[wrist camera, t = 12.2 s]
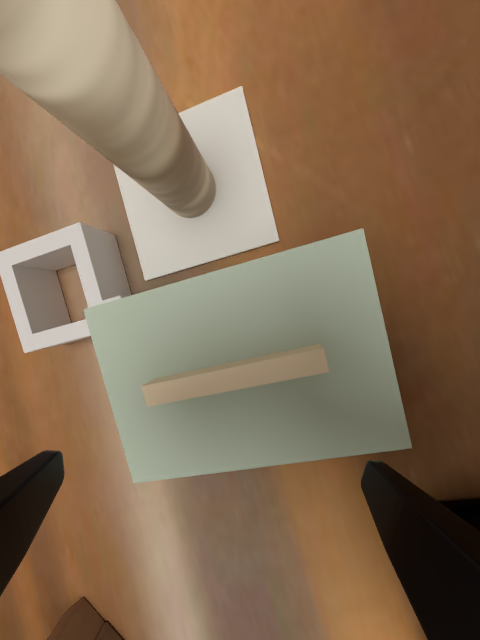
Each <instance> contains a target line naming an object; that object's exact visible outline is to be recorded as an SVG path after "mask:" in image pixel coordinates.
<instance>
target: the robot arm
mask: <svg viewBox="0 0 480 640" xmlns="http://www.w3.org/2000/svg"><path fill="white" fill-rule="evenodd" d="M63 479H64V464H63V455H62V453H61V451H51V450H46V451H43V452H41V453H39V454H37V455H36V456H34V457H32V458H31V459H29V460H27V461H26V462H24V463H22V464H21V465H19V466H17V467H16V468H14V469H12V470H11V471H9V472H7V473H6V474H4V475H2V476H1V477H0V596H1V594H2V593H3V591H4V589H5V588H6V586H7V585H8V583H9V581H10V580H11V578H12V576H13V575H14V573H15V571H16V570H17V568H18V566H19V565H20V563H21V561H22V560H23V558H24V556H25V555H26V553H27V551H28V549H29V547H30V545H31V543H32V542H33V540H34V538H35V536H36V534H37V532H38V530H39V528H40V526H41V524H42V522H43V520H44V518H45V516H46V514H47V512H48V510H49V508H50V506H51V504H52V502H53V500H54V498H55V496H56V494H57V492H58V490H59V489H60V487H61V485H62V482H63ZM361 487H362V490H363V493H364V496H365V498H366V501H367V504H368V506H369V509H370V511H371V514H372V517H373V519H374V522H375V524H376V527H377V530H378V532H379V535H380V537H381V540H382V542H383V545H384V547H385V550H386V552H387V554H388V556H389V559H390V561H391V563H392V565H393V567H394V569H395V571H396V574H397V576H398V578H399V580H400V582H401V584H402V586H403V588H404V590H405V593H406V595H407V597H408V599H409V601H410V603H411V605H412V607H413V610H414V612H415V614H416V616H417V618H418V620H419V622H420V624H421V627H422V629H423V631H424V633H425V635H426V637H427V639H428V640H480V500H469V501H457V502H446V503H439V502H438V501H436V500H435V499H434V498H432V497H431V496H429V495H428V494H427V493H425V492H424V491H423V490H421V489H420V488H418V487H417V486H416V485H414V484H413V483H412V482H410V481H409V480H407V479H406V478H405V477H403V476H402V475H401V474H399V473H398V472H396V471H395V470H394V469H392V468H391V467H389V466H388V465H387V464H385V463H384V462H382V461H368V462H367V463H366V466H365V469H364V473H363V476H362V479H361Z"/></svg>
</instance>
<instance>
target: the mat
mask: <svg viewBox="0 0 480 640" xmlns="http://www.w3.org/2000/svg"><path fill="white" fill-rule="evenodd" d="M178 114H179V116H180V117H181V119H182V121H183V123H184V125H185V126H186V128H187V130H188V132H189V134H190V135H191V137H192V139H193V141H194V143H195V144H196V146H197V148H198V150H199V152H200V153H201V155H202V157H203V159H204V161H205V162H206V164H207V166H208V168H209V170H210V171H211V173H212V175H213V177H214V180H215V183H216V194H215V198H214V201H213V203H212V205H211V207H210V208H209V209H208V210H207V211H206V212H205V213H204V214H202V215H200V216H198V217H195V218H184V217H181V216H179V215H177V214H176V213H175V212H173V211H172V210H171V209H169V208H168V207H167V206H166V205H164V204H163V203H162V202H161V201H159V200H158V199H157V198H156V197H154V196H153V195H152V194H151V193H149V192H148V191H147V190H146V189H144V188H143V187H142V186H140V185H139V184H138V183H137V182H135V181H134V180H133V179H132V178H130V177H129V176H128V175H127V174H125V173H124V172H123V171H122V170H120V169H119V168H118V167H116V166H115V165H114V164H113V165H114V169H115V172H116V176H117V179H118V183H119V187H120V190H121V194H122V198H123V201H124V205H125V209H126V212H127V216H128V220H129V223H130V227H131V231H132V234H133V238H134V242H135V245H136V249H137V253H138V256H139V260H140V263H141V267H142V271H143V274H144V278H145V281H149V280H152V279H155V278H159V277H162V276H165V275H169V274H172V273H175V272H179V271H182V270H185V269H189V268H192V267H195V266H199V265H202V264H205V263H209V262H212V261H215V260H219V259H222V258H225V257H229V256H232V255H236V254H239V253H242V252H246V251H249V250H252V249H256V248H259V247H262V246H266V245H269V244H272V243H276V242H279V237H278V233H277V229H276V225H275V221H274V216H273V212H272V208H271V204H270V200H269V196H268V192H267V188H266V183H265V179H264V175H263V171H262V167H261V163H260V159H259V155H258V150H257V146H256V142H255V138H254V134H253V130H252V126H251V122H250V117H249V113H248V109H247V105H246V101H245V97H244V93H243V89H242V86H240V87H238V88H236V89H233V90H231V91H229V92H226V93H224V94H222V95H220V96H217V97H215V98H213V99H210V100H208V101H206V102H203V103H201V104H199V105H196V106H194V107H192V108H189V109H187V110H185V111H182V112H180V113H178Z"/></svg>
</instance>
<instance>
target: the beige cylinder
mask: <svg viewBox="0 0 480 640" xmlns="http://www.w3.org/2000/svg"><path fill="white" fill-rule="evenodd" d="M0 75H2V76H3V77H4V78H5V79H7V80H8V81H9V82H11V83H12V84H13V85H14V86H16V87H17V88H18V89H19V90H21V91H22V92H23V93H24V94H26V95H27V96H28V97H29V98H31V99H32V100H33V101H34V102H36V103H37V104H38V105H40V106H41V107H42V108H43V109H45V110H46V111H47V112H48V113H50V114H51V115H52V116H53V117H55V118H56V119H57V120H58V121H60V122H61V123H62V124H64V125H65V126H66V127H67V128H69V129H70V130H71V131H72V132H74V133H75V134H76V135H77V136H79V137H80V138H81V139H82V140H84V141H85V142H86V143H87V144H89V145H90V146H91V147H93V148H94V149H95V150H96V151H98V152H99V153H100V154H101V155H103V156H104V157H105V158H106V159H108V160H109V161H110V162H111V163H113V164H114V165H115V166H116V167H118V168H119V169H120V170H122V171H123V172H124V173H125V174H127V175H128V176H129V177H130V178H132V179H133V180H134V181H135V182H137V183H138V184H139V185H140V186H142V187H143V188H144V189H146V190H147V191H148V192H149V193H151V194H152V195H153V196H154V197H156V198H157V199H158V200H159V201H161V202H162V203H163V204H164V205H166V206H167V207H168V208H169V209H171V210H172V211H173V212H175V213H176V214H177V215H179V216H181V217H184V218H195V217H198V216H200V215H202V214H204V213H205V212H206V211H207V210H208V209H209V208H210V207H211V205H212V203H213V201H214V198H215V194H216V183H215V180H214V177H213V175H212V173H211V171H210V170H209V168H208V166H207V164H206V162H205V161H204V159H203V157H202V155H201V153H200V152H199V150H198V148H197V146H196V144H195V143H194V141H193V139H192V137H191V135H190V134H189V132H188V130H187V128H186V126H185V125H184V123H183V121H182V119H181V117H180V116H179V114H178V112H177V110H176V108H175V107H174V105H173V103H172V101H171V99H170V98H169V96H168V94H167V92H166V90H165V89H164V87H163V85H162V83H161V81H160V80H159V78H158V76H157V74H156V72H155V71H154V69H153V67H152V65H151V63H150V62H149V60H148V58H147V56H146V54H145V53H144V51H143V49H142V47H141V45H140V44H139V42H138V40H137V38H136V36H135V35H134V33H133V31H132V29H131V27H130V26H129V24H128V22H127V20H126V18H125V17H124V15H123V13H122V11H121V9H120V8H119V6H118V4H117V2H116V0H0Z"/></svg>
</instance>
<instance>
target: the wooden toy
mask: <svg viewBox="0 0 480 640" xmlns="http://www.w3.org/2000/svg"><path fill="white" fill-rule="evenodd" d="M47 640H123V639H122V638H121V637H120V635H119V634H118V633H117V632H116V631H115V630H114V628H113V627H112V626H111V625H110V624H109V623H108V622H105V623H104V620H103V619H102V618H101V617H100V615H99V614H98V613H97V612H96V611H95V609H94V608H93V607H92V606H91V605H90V604H89V603H88V602H87V600H86V599H85V598H84V597H83V598H82V599H81V600H79V601H78V602H77V603H76V604H75V605H73V606H72V607H71V608H70V609H69V610H67V611H66V612H65V614H64V615H63V617H62V618H61V619H60V621H59V622H58V624H57V625H56V627H55V628H54V630H53V631H52V633H51V634H50V636H49V637H48V639H47Z"/></svg>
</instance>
